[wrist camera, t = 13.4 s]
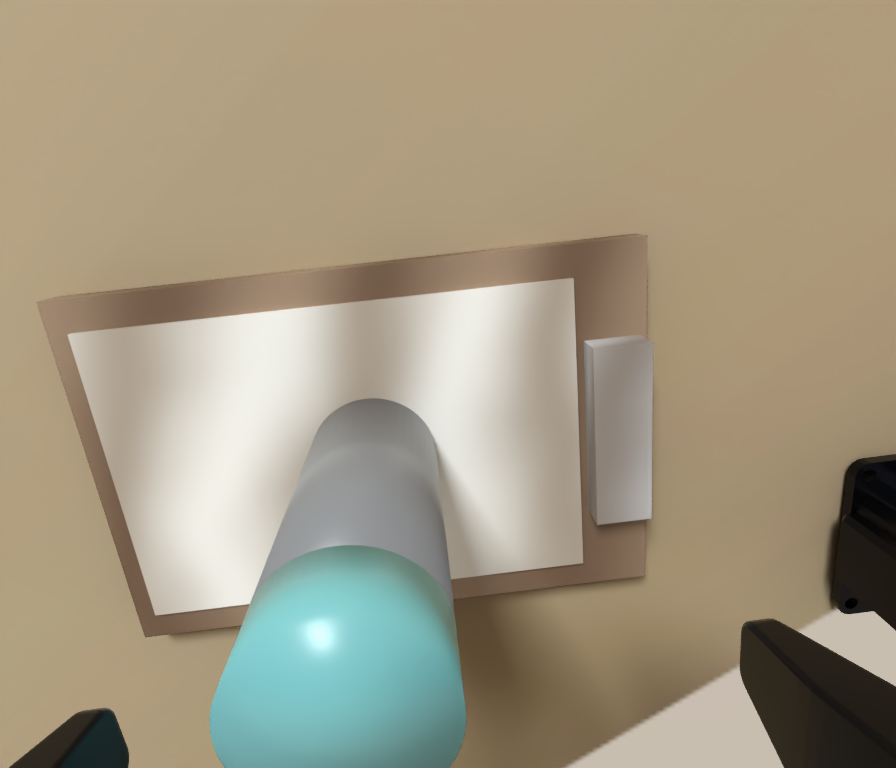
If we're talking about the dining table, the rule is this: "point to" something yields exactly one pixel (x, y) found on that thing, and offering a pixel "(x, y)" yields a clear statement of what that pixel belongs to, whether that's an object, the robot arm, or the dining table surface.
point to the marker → (351, 612)
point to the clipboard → (363, 377)
